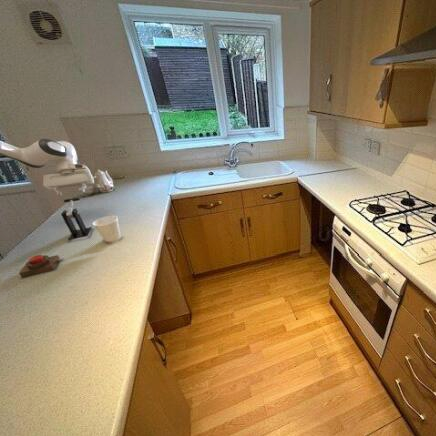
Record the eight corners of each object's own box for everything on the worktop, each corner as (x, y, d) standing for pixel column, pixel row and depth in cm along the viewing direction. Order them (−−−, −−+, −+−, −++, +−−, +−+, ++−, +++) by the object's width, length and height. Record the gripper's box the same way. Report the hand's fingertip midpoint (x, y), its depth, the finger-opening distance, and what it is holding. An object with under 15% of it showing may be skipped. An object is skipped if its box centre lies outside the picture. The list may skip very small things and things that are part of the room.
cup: (114, 246, 113) (105, 226, 107) (96, 245, 114) (86, 225, 109) (130, 235, 121) (122, 216, 116) (113, 234, 123) (104, 215, 117)
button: (29, 265, 96) (26, 262, 95) (33, 259, 99) (31, 256, 98) (42, 262, 97) (40, 259, 96) (45, 257, 100) (43, 253, 100)
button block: (22, 277, 95) (16, 270, 93) (30, 266, 101) (25, 258, 99) (54, 270, 98) (49, 262, 97) (60, 259, 105) (56, 251, 103)
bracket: (74, 232, 125) (61, 208, 119) (92, 228, 128) (81, 205, 122) (68, 242, 117) (54, 217, 111) (88, 237, 120) (76, 213, 114)
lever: (66, 201, 122) (63, 198, 120) (80, 199, 125) (78, 196, 123) (64, 219, 116) (61, 216, 114) (79, 216, 118) (76, 213, 116)
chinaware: (107, 186, 193) (97, 165, 185) (126, 183, 191) (117, 163, 183) (79, 200, 168) (65, 177, 160) (100, 197, 167) (88, 174, 159)
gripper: (38, 170, 120) (41, 194, 117) (88, 164, 128) (92, 187, 124) (46, 176, 125) (49, 199, 122) (93, 170, 133) (97, 192, 130)
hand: (71, 193), depth 123 cm, fingers open, 8 cm apart
